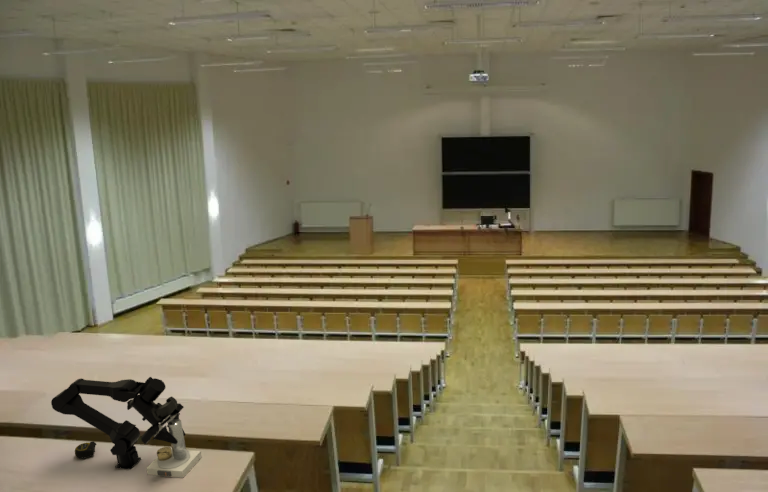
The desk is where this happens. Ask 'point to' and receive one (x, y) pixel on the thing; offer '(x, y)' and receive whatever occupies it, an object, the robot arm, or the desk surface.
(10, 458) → the desk surface
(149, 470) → the scale
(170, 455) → the brass weight
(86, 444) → the tape measure
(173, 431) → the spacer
